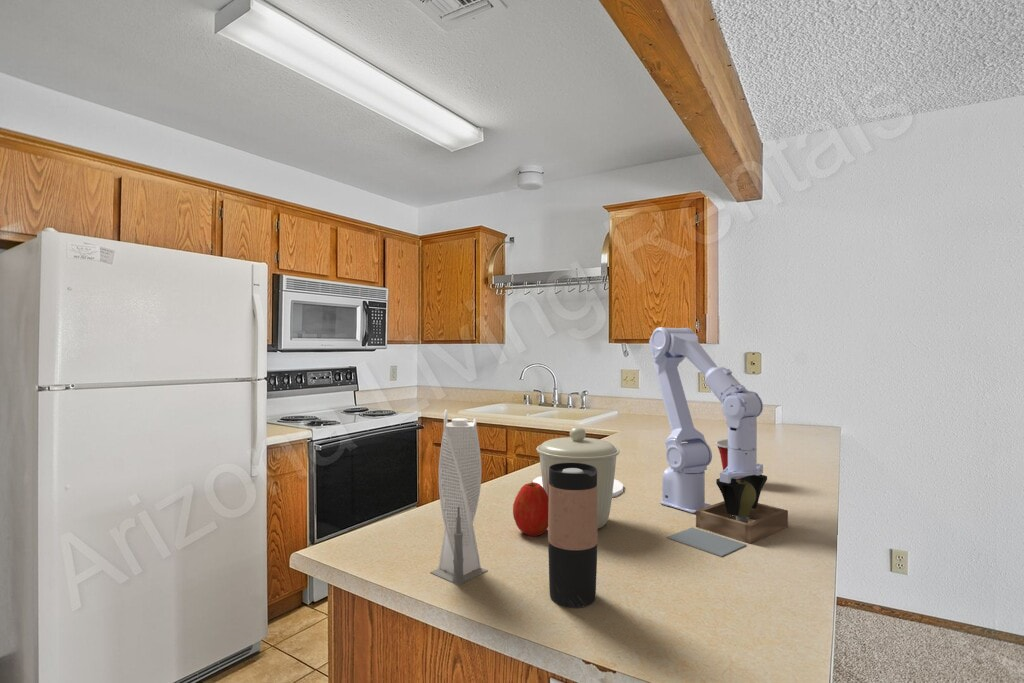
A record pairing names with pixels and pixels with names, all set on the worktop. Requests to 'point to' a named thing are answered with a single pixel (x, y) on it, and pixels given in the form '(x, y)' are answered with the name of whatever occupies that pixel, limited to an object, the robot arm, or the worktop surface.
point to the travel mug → (572, 534)
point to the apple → (531, 509)
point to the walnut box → (747, 532)
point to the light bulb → (746, 501)
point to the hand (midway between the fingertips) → (742, 510)
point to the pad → (707, 541)
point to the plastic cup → (723, 452)
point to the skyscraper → (459, 500)
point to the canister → (586, 453)
